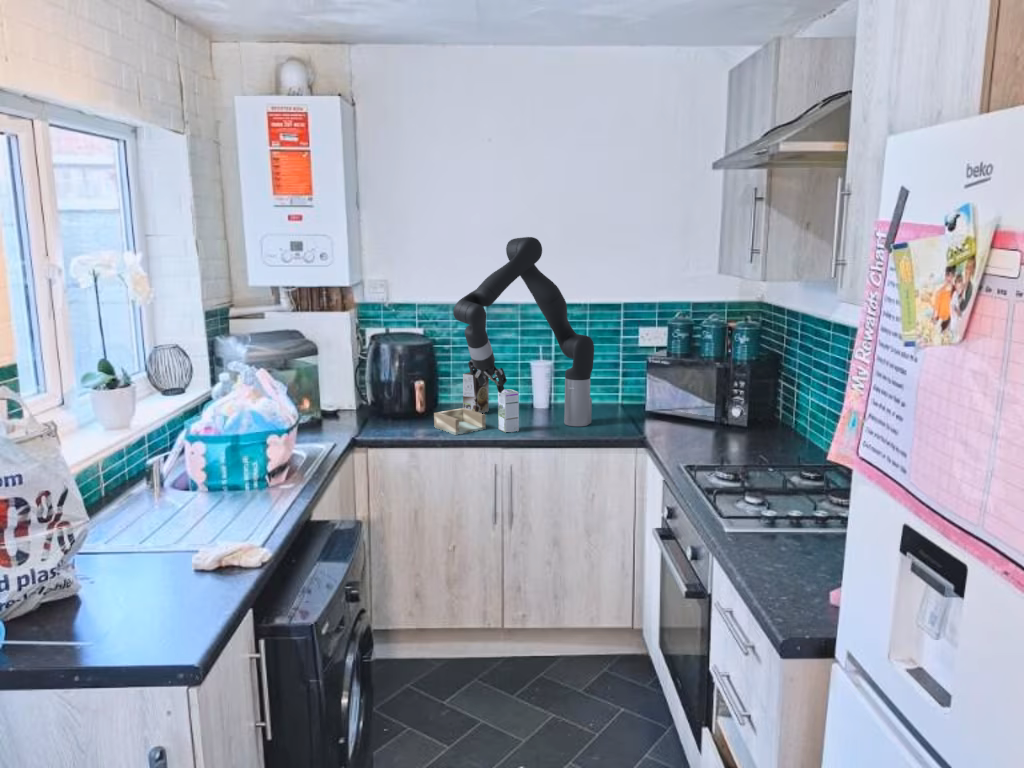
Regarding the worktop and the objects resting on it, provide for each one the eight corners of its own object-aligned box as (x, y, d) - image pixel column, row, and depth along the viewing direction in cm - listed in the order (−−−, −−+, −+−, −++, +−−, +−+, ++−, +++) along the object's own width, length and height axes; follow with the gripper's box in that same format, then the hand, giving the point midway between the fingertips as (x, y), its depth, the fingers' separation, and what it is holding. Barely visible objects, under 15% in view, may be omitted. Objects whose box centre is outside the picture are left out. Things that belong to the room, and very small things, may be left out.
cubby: (463, 422, 284) (463, 407, 283) (485, 429, 274) (485, 414, 273) (434, 427, 276) (434, 412, 275) (455, 435, 266) (455, 419, 265)
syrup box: (519, 431, 272) (519, 391, 269) (504, 433, 269) (504, 393, 266) (511, 427, 276) (512, 388, 274) (497, 429, 274) (497, 390, 271)
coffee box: (475, 416, 294) (475, 375, 290) (462, 414, 297) (462, 373, 294) (489, 411, 301) (489, 371, 298) (476, 409, 305) (475, 370, 301)
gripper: (504, 350, 252) (514, 386, 263) (471, 340, 260) (482, 375, 271) (490, 364, 248) (501, 400, 259) (458, 353, 256) (469, 388, 267)
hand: (491, 387), depth 265 cm, fingers open, 8 cm apart
